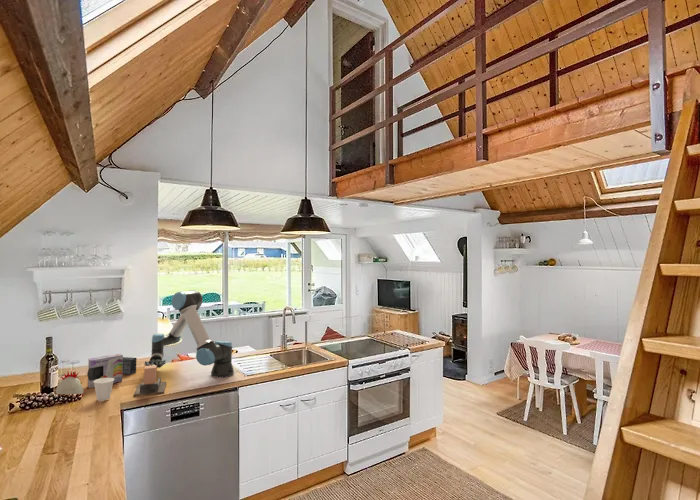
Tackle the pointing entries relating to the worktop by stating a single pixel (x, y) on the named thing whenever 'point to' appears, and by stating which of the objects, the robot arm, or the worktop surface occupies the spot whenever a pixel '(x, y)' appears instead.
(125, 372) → the small box
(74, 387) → the red-crested grey dome
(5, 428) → the worktop surface
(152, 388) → the grey socket base
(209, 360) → the robot arm
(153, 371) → the block
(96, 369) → the cake pan box
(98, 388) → the cup
